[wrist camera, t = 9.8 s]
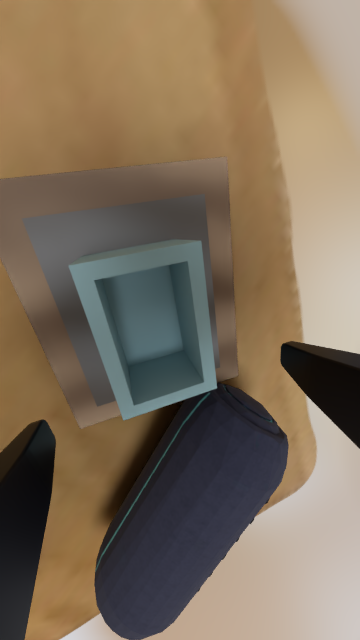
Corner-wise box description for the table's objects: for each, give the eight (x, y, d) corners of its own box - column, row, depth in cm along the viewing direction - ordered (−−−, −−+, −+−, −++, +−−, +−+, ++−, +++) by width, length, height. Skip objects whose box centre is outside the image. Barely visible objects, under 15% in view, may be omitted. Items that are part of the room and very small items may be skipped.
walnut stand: (225, 362, 24) (240, 378, 21) (83, 407, 21) (79, 432, 18) (210, 167, 17) (230, 154, 14) (-11, 191, 14) (-40, 180, 11)
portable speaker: (154, 520, 31) (184, 633, 22) (81, 535, 25) (85, 690, 17) (249, 374, 26) (331, 449, 18) (185, 355, 21) (259, 449, 12)
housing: (173, 239, 15) (201, 240, 10) (193, 362, 19) (218, 402, 14) (82, 256, 14) (68, 265, 9) (123, 384, 18) (128, 434, 13)
